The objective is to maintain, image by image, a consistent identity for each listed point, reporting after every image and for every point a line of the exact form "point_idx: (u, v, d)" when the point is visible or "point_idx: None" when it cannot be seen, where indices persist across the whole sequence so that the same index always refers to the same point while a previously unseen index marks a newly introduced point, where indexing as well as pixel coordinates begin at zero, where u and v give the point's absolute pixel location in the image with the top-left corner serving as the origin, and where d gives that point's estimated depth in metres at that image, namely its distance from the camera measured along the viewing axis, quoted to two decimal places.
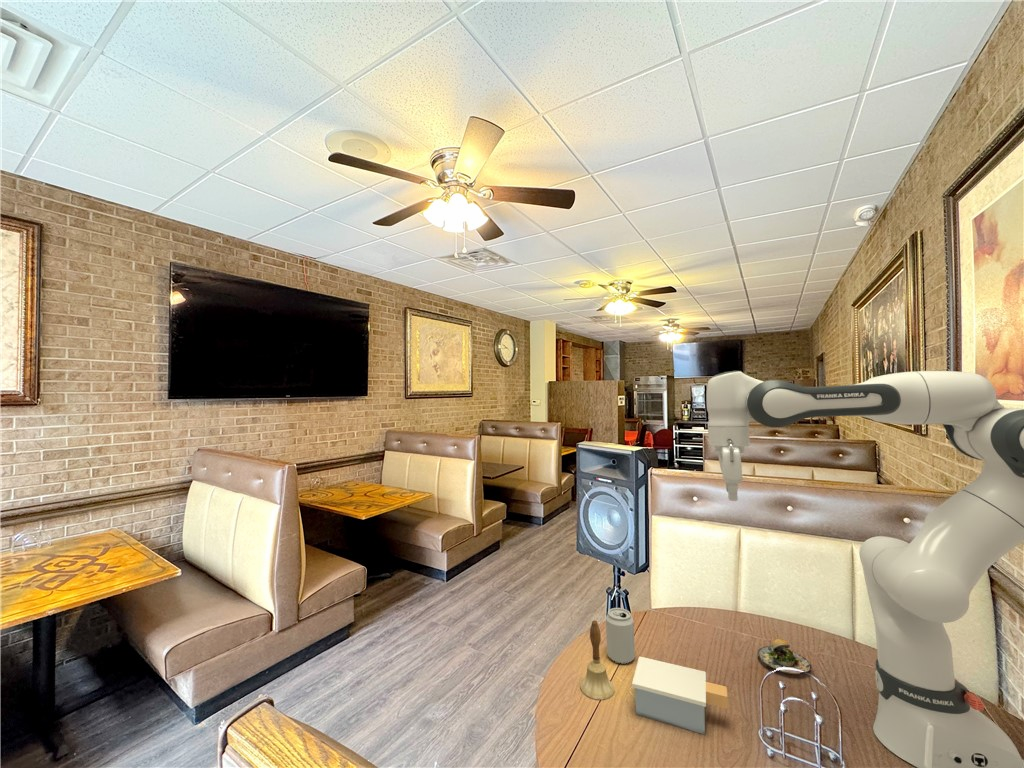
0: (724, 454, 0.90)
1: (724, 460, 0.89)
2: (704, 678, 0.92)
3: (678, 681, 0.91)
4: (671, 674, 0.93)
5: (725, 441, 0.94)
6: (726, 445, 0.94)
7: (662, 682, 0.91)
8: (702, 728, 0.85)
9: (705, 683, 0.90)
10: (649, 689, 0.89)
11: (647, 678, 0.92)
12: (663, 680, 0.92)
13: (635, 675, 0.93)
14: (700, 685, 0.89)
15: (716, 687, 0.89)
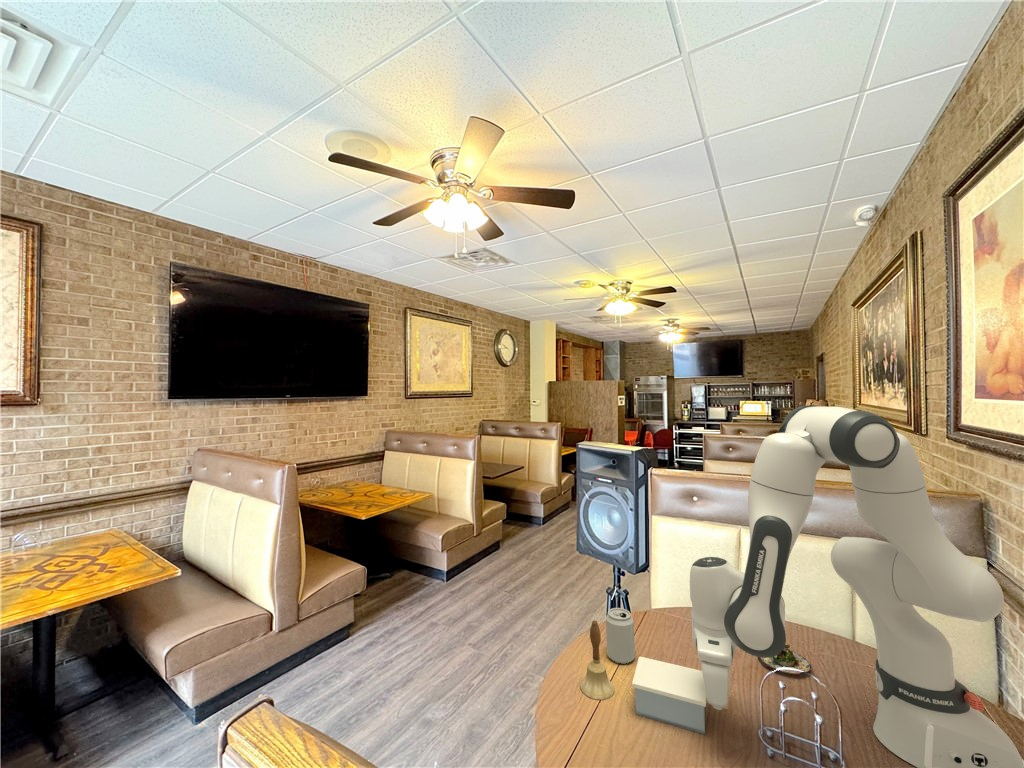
0: None
1: None
2: None
3: (678, 681, 0.91)
4: (671, 674, 0.93)
5: None
6: None
7: (662, 682, 0.91)
8: (702, 728, 0.85)
9: None
10: (649, 689, 0.89)
11: (647, 678, 0.92)
12: (663, 680, 0.92)
13: (635, 675, 0.93)
14: (700, 685, 0.89)
15: None
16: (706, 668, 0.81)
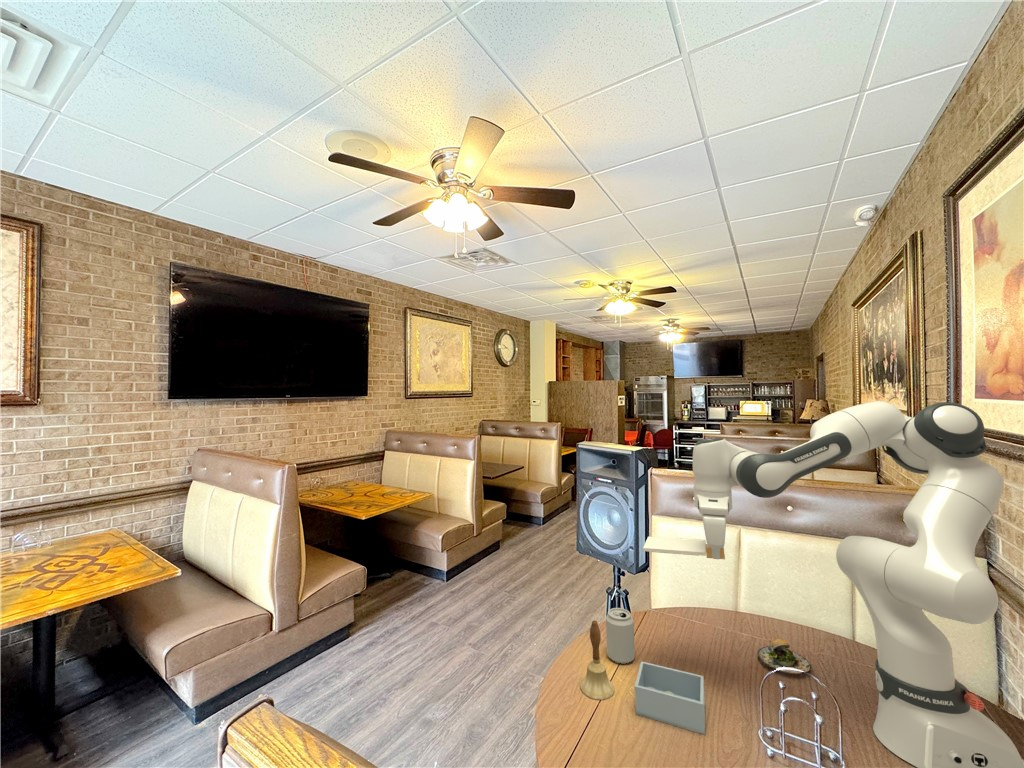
0: None
1: None
2: (704, 542, 1.07)
3: (682, 545, 1.07)
4: (676, 542, 1.09)
5: None
6: None
7: (668, 546, 1.06)
8: (702, 728, 0.85)
9: (705, 544, 1.06)
10: (657, 550, 1.05)
11: (655, 545, 1.08)
12: (669, 545, 1.07)
13: (645, 544, 1.09)
14: (701, 545, 1.05)
15: None
16: (706, 518, 0.97)
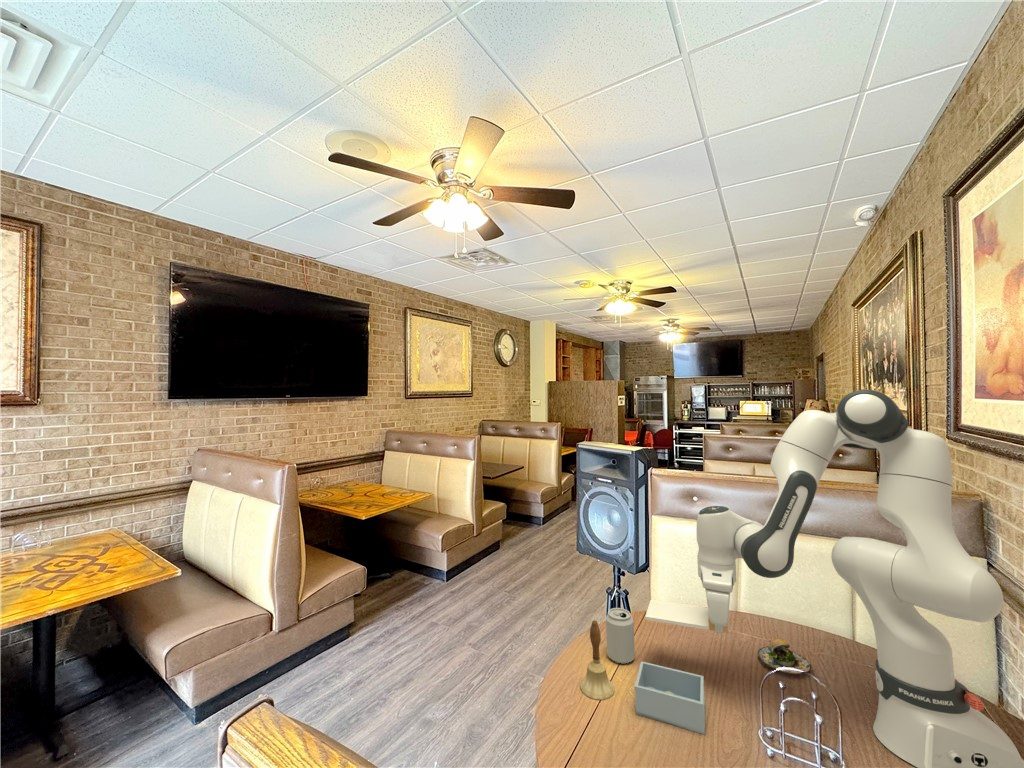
0: None
1: None
2: (707, 611, 1.06)
3: (684, 614, 1.06)
4: (679, 610, 1.08)
5: None
6: None
7: (671, 615, 1.05)
8: (702, 728, 0.85)
9: (708, 614, 1.05)
10: (660, 620, 1.04)
11: (658, 613, 1.07)
12: (671, 613, 1.06)
13: (647, 611, 1.08)
14: (704, 616, 1.04)
15: None
16: (710, 594, 0.96)
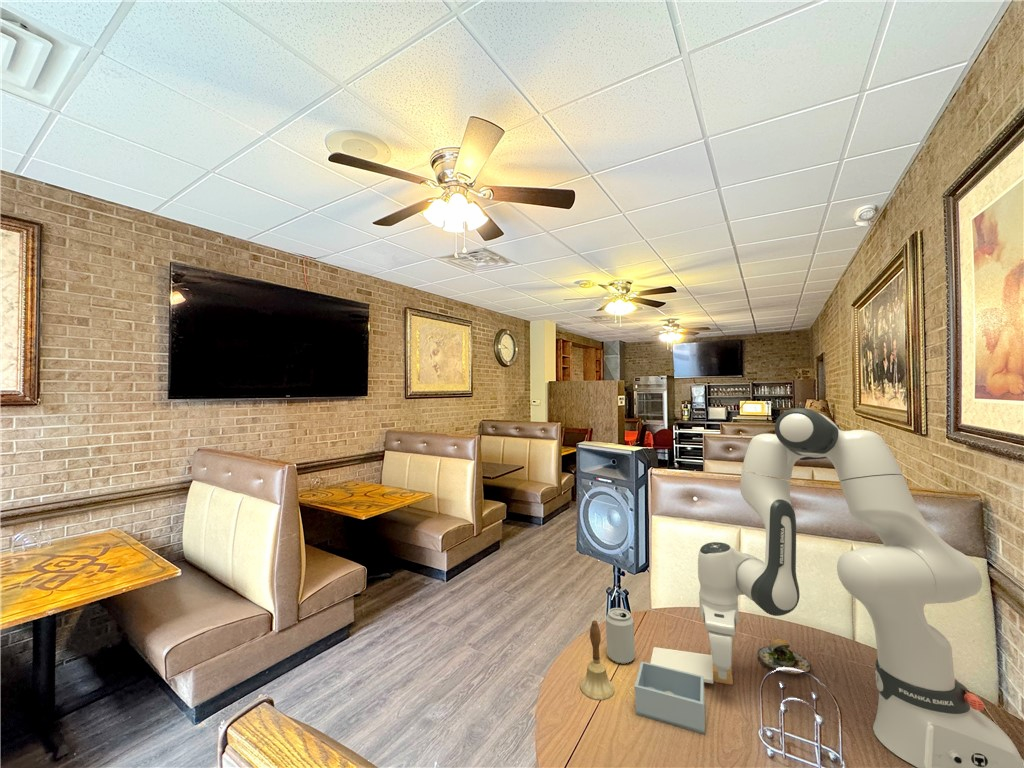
0: None
1: None
2: (711, 660, 1.05)
3: (688, 664, 1.04)
4: (682, 659, 1.07)
5: None
6: None
7: (675, 666, 1.04)
8: (702, 728, 0.85)
9: (712, 664, 1.04)
10: None
11: (661, 664, 1.06)
12: (675, 664, 1.05)
13: (651, 663, 1.07)
14: (708, 666, 1.03)
15: None
16: (713, 637, 0.95)
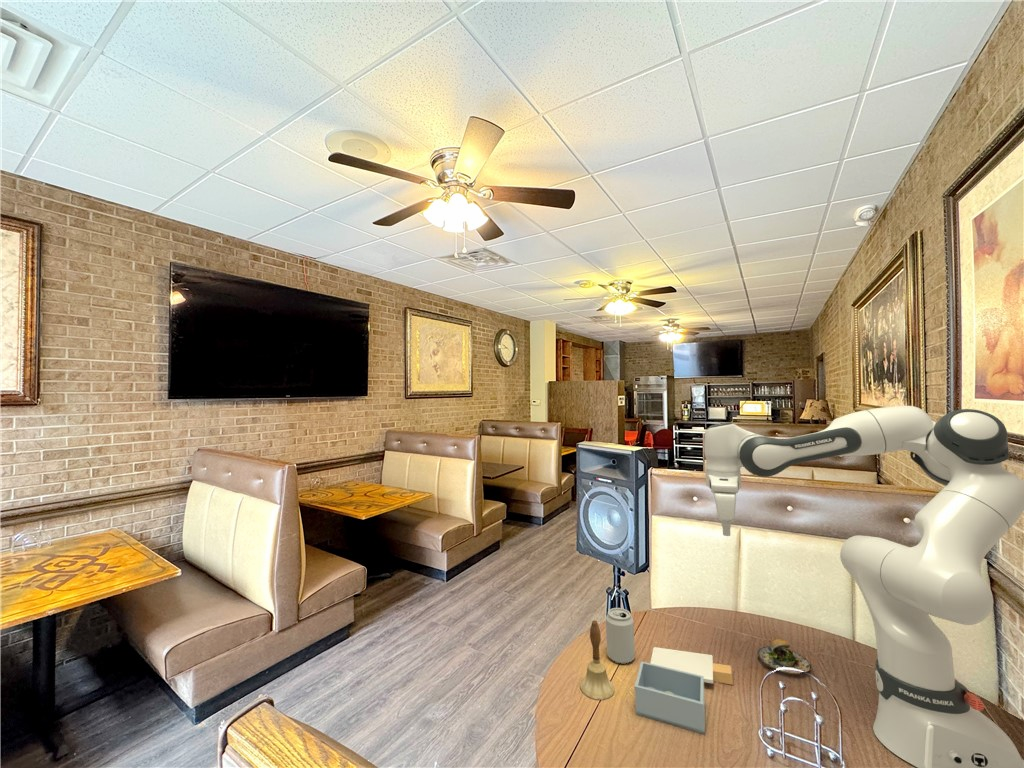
0: None
1: None
2: (711, 660, 1.05)
3: (688, 664, 1.04)
4: (682, 659, 1.07)
5: None
6: None
7: (675, 666, 1.04)
8: (702, 728, 0.85)
9: (712, 664, 1.04)
10: None
11: (661, 664, 1.06)
12: (675, 664, 1.05)
13: (651, 663, 1.07)
14: (708, 666, 1.03)
15: (721, 667, 1.02)
16: (718, 495, 1.06)
